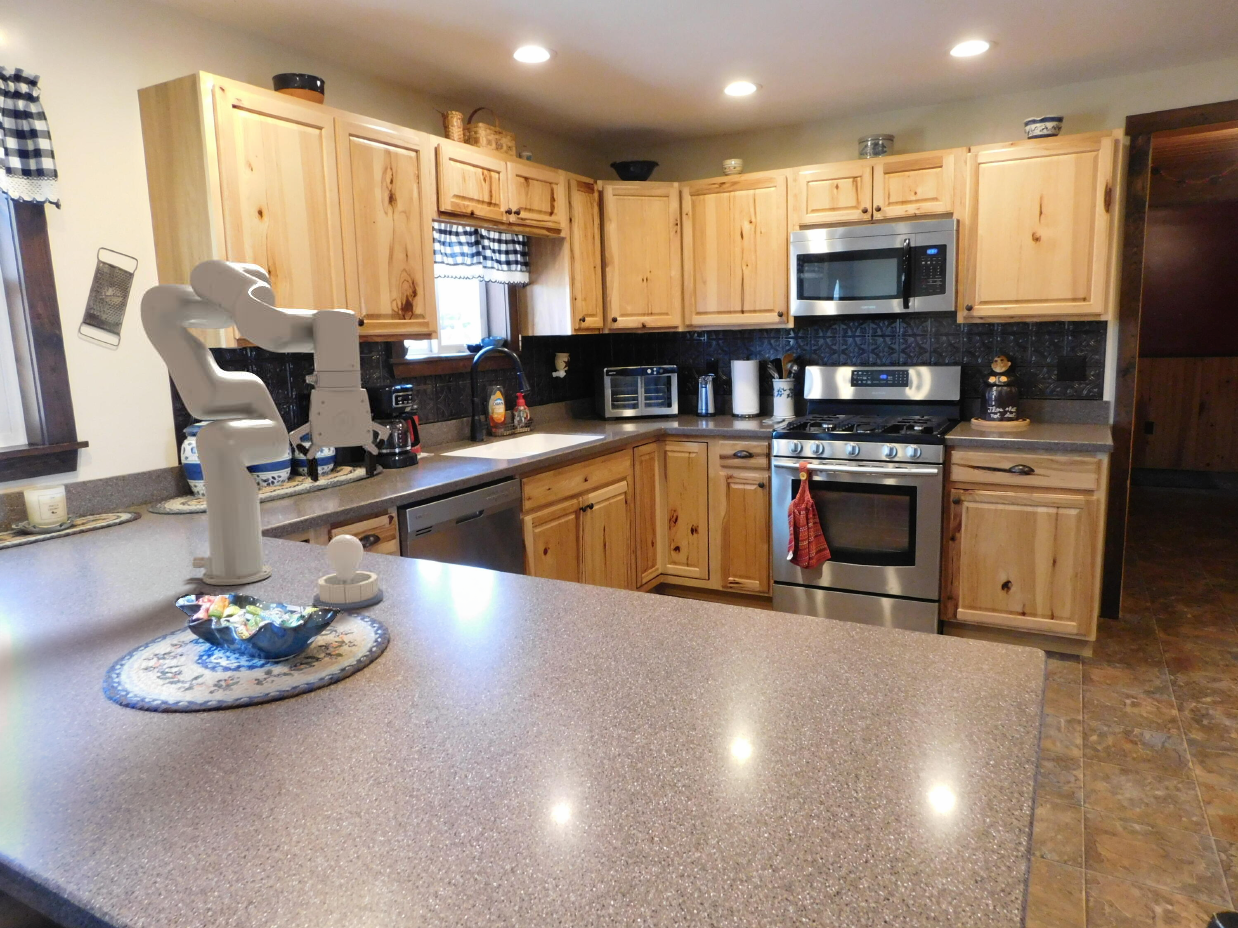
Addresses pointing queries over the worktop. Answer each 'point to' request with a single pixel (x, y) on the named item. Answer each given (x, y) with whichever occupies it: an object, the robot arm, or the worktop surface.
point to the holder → (348, 592)
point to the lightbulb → (344, 557)
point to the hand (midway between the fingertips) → (342, 478)
